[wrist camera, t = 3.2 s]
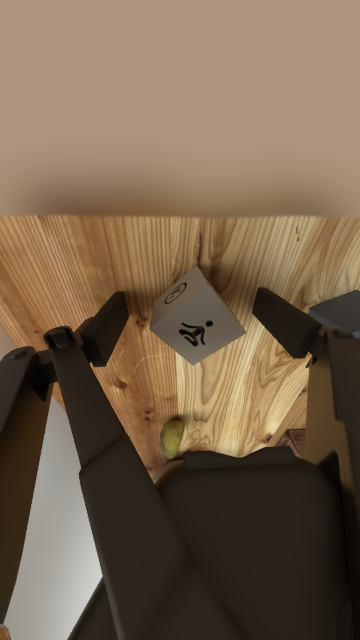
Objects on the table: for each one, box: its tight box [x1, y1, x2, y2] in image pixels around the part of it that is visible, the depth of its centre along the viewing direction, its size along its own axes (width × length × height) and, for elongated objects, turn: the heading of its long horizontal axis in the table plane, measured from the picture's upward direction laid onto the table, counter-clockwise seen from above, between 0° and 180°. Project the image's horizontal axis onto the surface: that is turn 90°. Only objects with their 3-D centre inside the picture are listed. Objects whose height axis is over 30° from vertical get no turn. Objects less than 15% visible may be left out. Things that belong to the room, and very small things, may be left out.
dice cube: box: [149, 265, 246, 365], centre depth 13 cm, size 5×5×5 cm
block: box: [309, 290, 360, 338], centre depth 15 cm, size 4×4×5 cm
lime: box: [159, 420, 185, 459], centre depth 25 cm, size 4×5×5 cm
